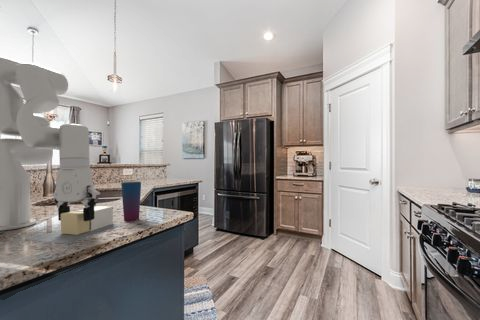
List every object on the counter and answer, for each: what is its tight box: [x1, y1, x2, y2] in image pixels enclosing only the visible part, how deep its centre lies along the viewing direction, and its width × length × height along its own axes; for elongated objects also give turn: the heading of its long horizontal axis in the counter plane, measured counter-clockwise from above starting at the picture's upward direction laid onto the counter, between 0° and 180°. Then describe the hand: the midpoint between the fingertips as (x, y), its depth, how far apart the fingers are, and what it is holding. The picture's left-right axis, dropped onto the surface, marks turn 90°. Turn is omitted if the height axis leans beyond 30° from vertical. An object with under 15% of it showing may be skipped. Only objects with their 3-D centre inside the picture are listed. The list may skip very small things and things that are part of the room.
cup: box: [120, 180, 142, 223], centre depth 85 cm, size 7×7×15 cm
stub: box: [60, 210, 89, 235], centre depth 70 cm, size 6×4×6 cm, turn 75°
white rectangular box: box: [77, 205, 114, 231], centre depth 76 cm, size 6×9×6 cm
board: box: [25, 222, 125, 245], centre depth 71 cm, size 16×20×1 cm
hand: (76, 219), depth 70 cm, fingers open, 9 cm apart
